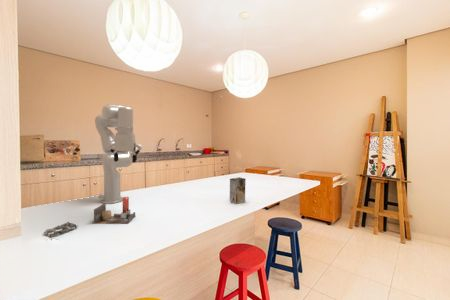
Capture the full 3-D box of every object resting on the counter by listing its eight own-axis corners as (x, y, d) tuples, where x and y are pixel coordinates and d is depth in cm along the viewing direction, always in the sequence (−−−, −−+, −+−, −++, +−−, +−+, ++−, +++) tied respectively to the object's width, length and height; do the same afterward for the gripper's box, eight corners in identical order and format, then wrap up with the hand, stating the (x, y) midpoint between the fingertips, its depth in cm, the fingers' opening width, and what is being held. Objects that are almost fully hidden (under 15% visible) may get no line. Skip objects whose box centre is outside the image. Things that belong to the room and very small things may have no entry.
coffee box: (238, 199, 150) (239, 177, 149) (245, 201, 145) (245, 178, 144) (229, 201, 144) (229, 178, 143) (235, 204, 139) (236, 180, 138)
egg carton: (53, 242, 86) (52, 232, 86) (42, 238, 89) (41, 229, 89) (79, 231, 96) (79, 222, 96) (69, 228, 99) (68, 220, 99)
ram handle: (120, 221, 103) (120, 199, 103) (125, 217, 109) (125, 196, 108) (126, 221, 104) (126, 199, 103) (130, 217, 109) (130, 196, 108)
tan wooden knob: (100, 221, 104) (100, 213, 103) (104, 218, 108) (104, 210, 107) (108, 221, 104) (108, 213, 104) (112, 218, 108) (112, 210, 108)
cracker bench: (91, 226, 101) (91, 210, 100) (102, 218, 111) (102, 203, 110) (128, 226, 101) (127, 210, 101) (136, 218, 111) (135, 203, 111)
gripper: (105, 129, 111) (105, 162, 112) (139, 131, 111) (138, 163, 113) (112, 129, 118) (112, 160, 120) (144, 131, 119) (143, 161, 120)
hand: (125, 161), depth 116 cm, fingers open, 9 cm apart
